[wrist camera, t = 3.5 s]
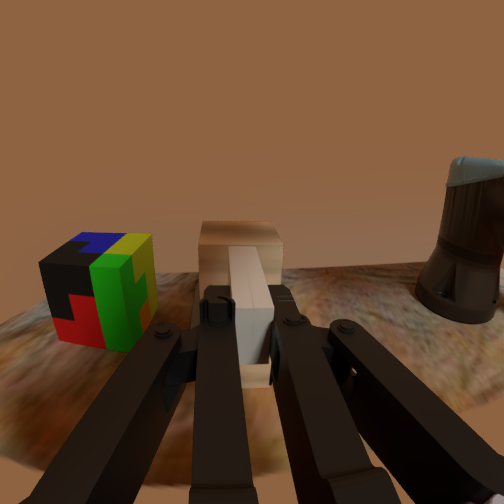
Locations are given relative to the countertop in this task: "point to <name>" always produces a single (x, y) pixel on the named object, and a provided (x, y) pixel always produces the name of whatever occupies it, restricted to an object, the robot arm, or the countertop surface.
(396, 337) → the countertop surface
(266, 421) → the countertop surface
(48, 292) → the puzzle toy
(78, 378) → the countertop surface
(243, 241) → the beech block
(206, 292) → the robot arm
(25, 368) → the countertop surface
